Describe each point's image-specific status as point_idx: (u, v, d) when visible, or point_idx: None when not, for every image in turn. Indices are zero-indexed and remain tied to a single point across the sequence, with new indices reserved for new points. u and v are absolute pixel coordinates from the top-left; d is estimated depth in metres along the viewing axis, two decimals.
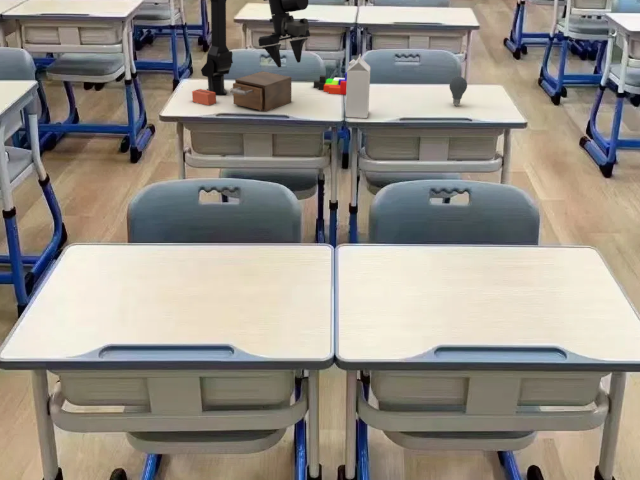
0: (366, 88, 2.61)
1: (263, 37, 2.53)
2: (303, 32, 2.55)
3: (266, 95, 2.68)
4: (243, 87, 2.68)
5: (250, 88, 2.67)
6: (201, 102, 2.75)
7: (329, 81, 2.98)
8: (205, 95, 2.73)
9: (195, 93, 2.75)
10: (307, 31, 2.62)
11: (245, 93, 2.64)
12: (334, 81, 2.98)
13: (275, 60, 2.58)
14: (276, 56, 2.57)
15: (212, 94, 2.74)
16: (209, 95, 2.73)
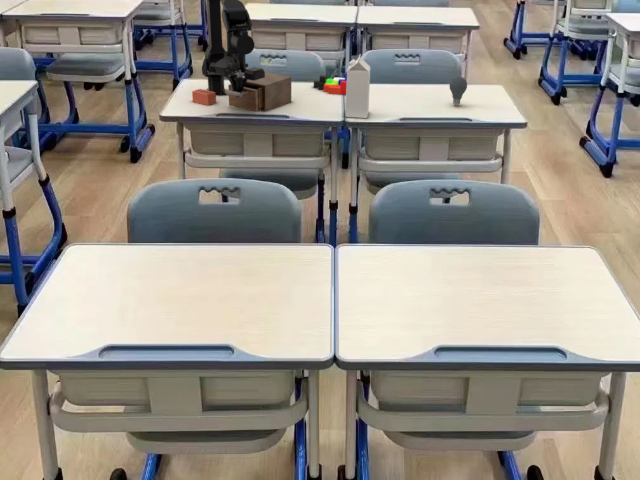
0: (366, 88, 2.61)
1: None
2: (222, 73, 2.55)
3: (266, 95, 2.68)
4: None
5: (246, 89, 2.65)
6: (201, 102, 2.75)
7: (329, 81, 2.98)
8: (205, 95, 2.73)
9: (195, 93, 2.75)
10: (250, 74, 2.55)
11: (240, 94, 2.62)
12: (334, 81, 2.98)
13: None
14: None
15: (212, 94, 2.74)
16: (209, 95, 2.73)
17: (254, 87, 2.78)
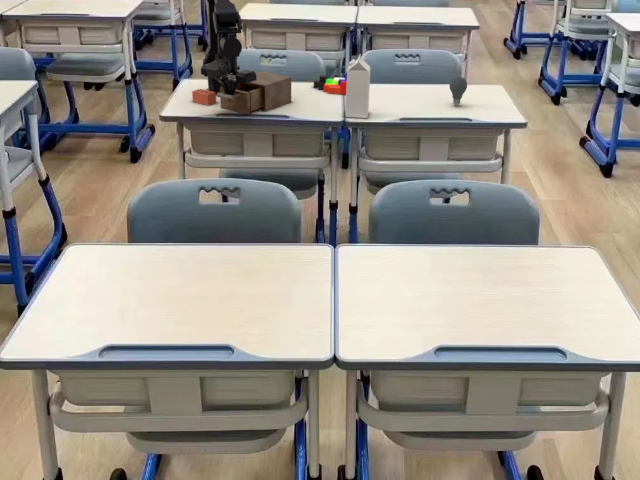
0: (366, 88, 2.61)
1: None
2: (213, 76, 2.52)
3: (266, 95, 2.68)
4: None
5: (237, 92, 2.62)
6: (201, 102, 2.75)
7: (329, 81, 2.98)
8: (205, 95, 2.73)
9: (195, 93, 2.75)
10: (241, 77, 2.52)
11: (232, 97, 2.59)
12: (334, 81, 2.98)
13: None
14: None
15: (212, 94, 2.74)
16: (209, 95, 2.73)
17: (246, 90, 2.75)
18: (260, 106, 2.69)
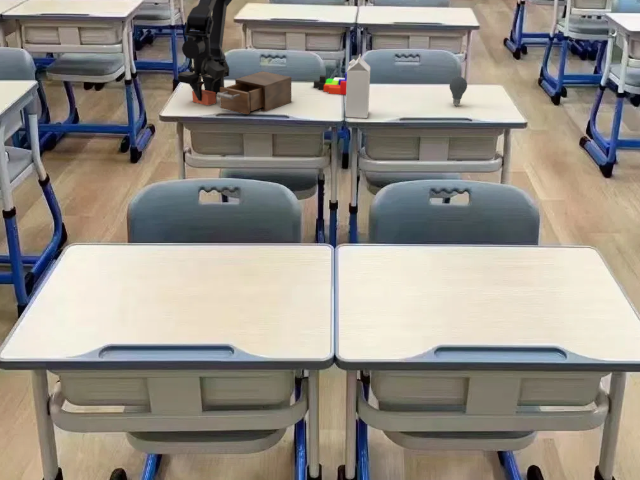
0: (366, 88, 2.61)
1: (183, 75, 2.65)
2: (221, 75, 2.69)
3: (266, 95, 2.68)
4: (230, 91, 2.63)
5: (237, 92, 2.62)
6: (201, 102, 2.75)
7: (329, 81, 2.98)
8: (205, 95, 2.73)
9: None
10: None
11: (232, 97, 2.59)
12: (334, 81, 2.98)
13: (196, 94, 2.74)
14: (198, 91, 2.72)
15: (212, 94, 2.74)
16: (209, 95, 2.73)
17: (246, 90, 2.75)
18: (260, 106, 2.69)
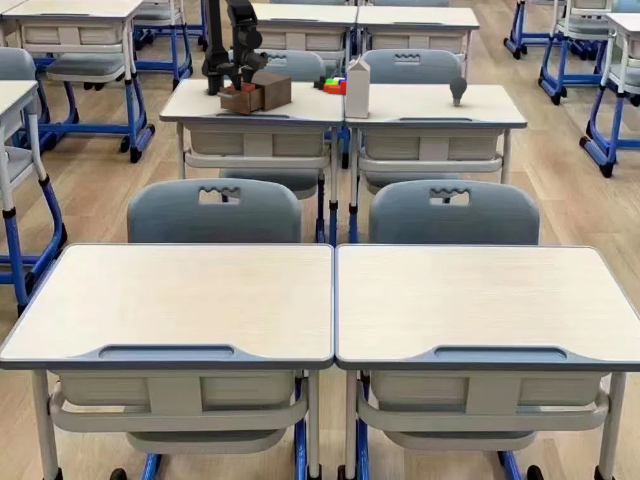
0: (366, 88, 2.61)
1: (223, 66, 2.55)
2: (262, 67, 2.59)
3: (266, 95, 2.68)
4: (230, 91, 2.63)
5: (237, 92, 2.62)
6: None
7: (329, 81, 2.98)
8: (244, 87, 2.63)
9: None
10: None
11: (232, 97, 2.59)
12: (334, 81, 2.98)
13: (235, 86, 2.64)
14: (237, 83, 2.62)
15: (251, 86, 2.65)
16: (249, 87, 2.63)
17: None
18: (260, 106, 2.69)
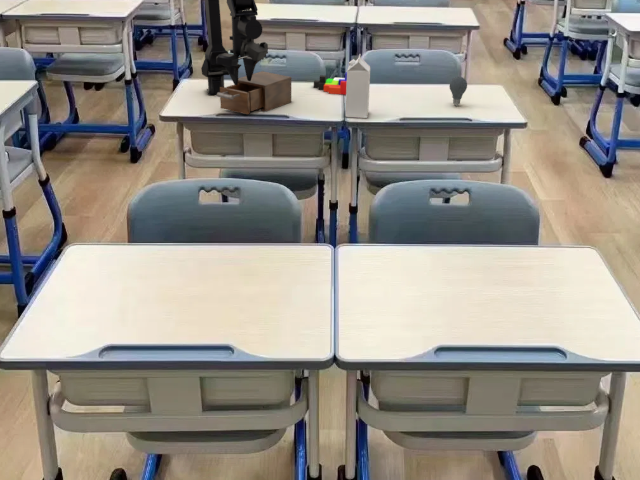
0: (366, 88, 2.61)
1: (222, 56, 2.54)
2: (262, 57, 2.58)
3: (266, 95, 2.68)
4: (230, 91, 2.63)
5: (237, 92, 2.62)
6: None
7: (329, 81, 2.98)
8: None
9: None
10: None
11: (232, 97, 2.59)
12: (334, 81, 2.98)
13: (232, 78, 2.61)
14: (234, 75, 2.60)
15: None
16: None
17: (246, 90, 2.75)
18: (260, 106, 2.69)
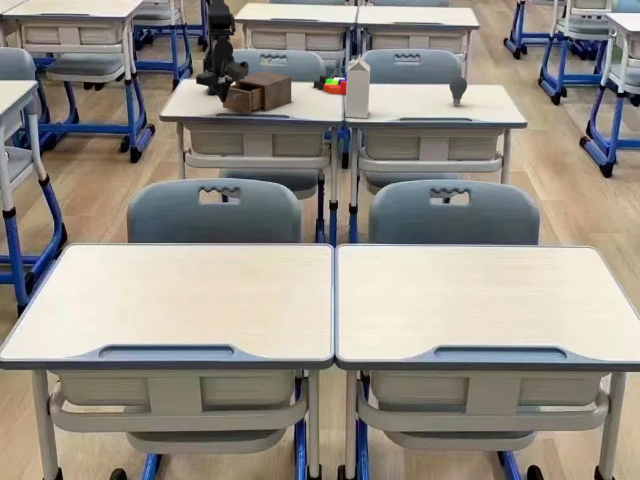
0: (366, 88, 2.61)
1: (202, 76, 2.49)
2: (242, 77, 2.53)
3: (266, 95, 2.68)
4: (232, 90, 2.64)
5: (239, 91, 2.63)
6: None
7: (329, 81, 2.98)
8: None
9: None
10: None
11: (234, 97, 2.60)
12: (334, 81, 2.98)
13: (219, 95, 2.59)
14: (221, 92, 2.57)
15: None
16: None
17: (248, 89, 2.75)
18: (262, 105, 2.70)
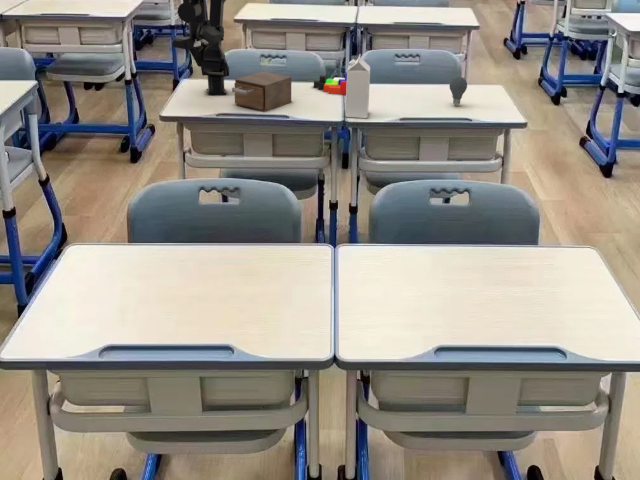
0: (366, 88, 2.61)
1: (178, 39, 2.56)
2: (218, 40, 2.59)
3: (266, 95, 2.68)
4: (245, 87, 2.69)
5: (252, 88, 2.67)
6: None
7: (329, 81, 2.98)
8: None
9: None
10: None
11: (247, 92, 2.64)
12: (334, 81, 2.98)
13: (196, 59, 2.65)
14: (197, 56, 2.64)
15: None
16: None
17: None
18: None
